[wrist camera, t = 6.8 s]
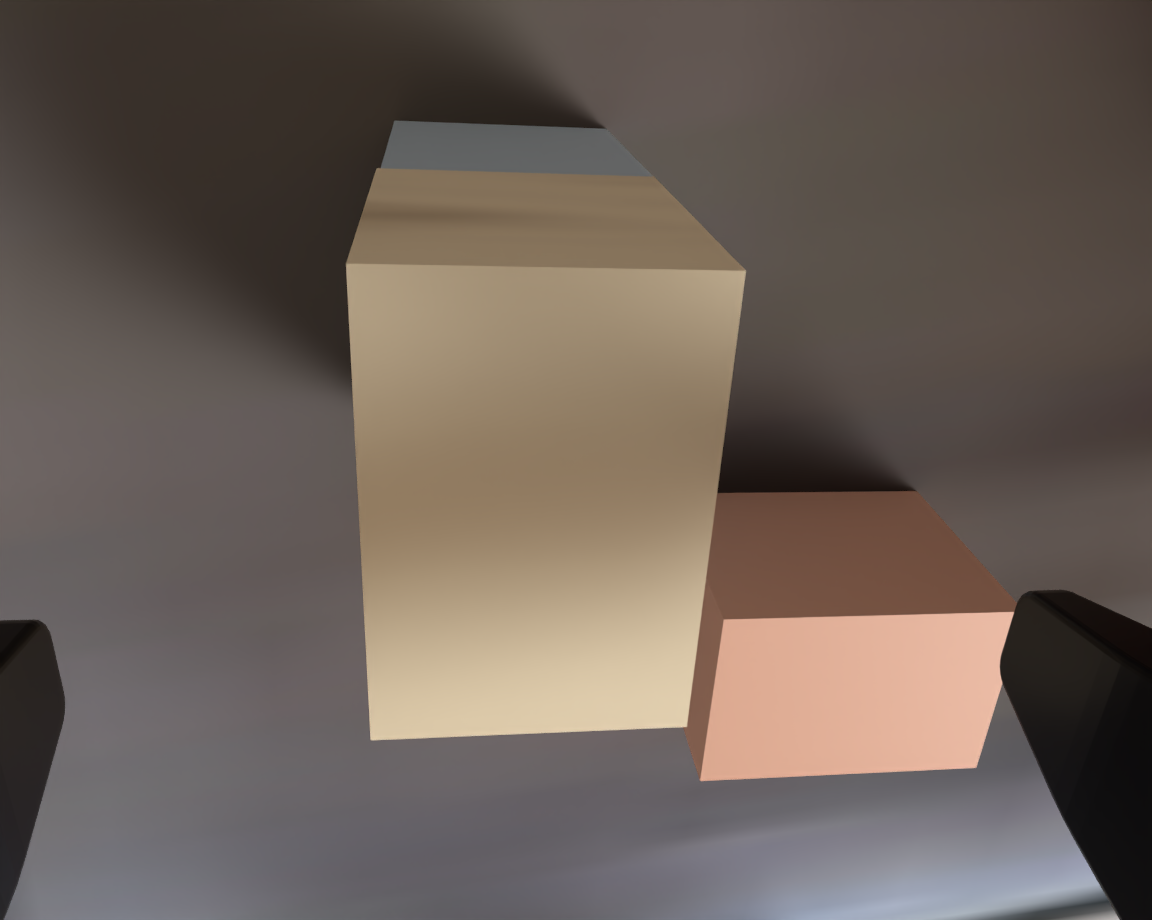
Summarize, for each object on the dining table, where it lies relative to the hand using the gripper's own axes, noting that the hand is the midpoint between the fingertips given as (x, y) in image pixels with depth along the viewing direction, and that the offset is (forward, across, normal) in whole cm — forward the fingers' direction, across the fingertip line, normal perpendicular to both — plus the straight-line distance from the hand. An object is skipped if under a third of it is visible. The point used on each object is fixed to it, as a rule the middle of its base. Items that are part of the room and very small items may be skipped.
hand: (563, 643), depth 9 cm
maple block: (+7, 0, 0) cm, 7 cm away
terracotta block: (+12, -7, +7) cm, 16 cm away
